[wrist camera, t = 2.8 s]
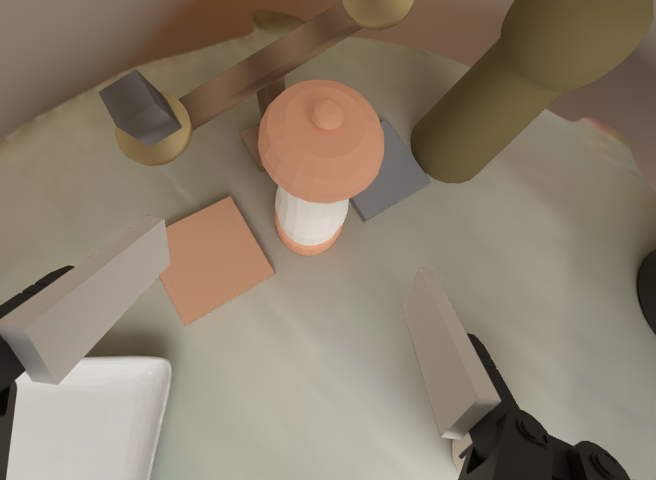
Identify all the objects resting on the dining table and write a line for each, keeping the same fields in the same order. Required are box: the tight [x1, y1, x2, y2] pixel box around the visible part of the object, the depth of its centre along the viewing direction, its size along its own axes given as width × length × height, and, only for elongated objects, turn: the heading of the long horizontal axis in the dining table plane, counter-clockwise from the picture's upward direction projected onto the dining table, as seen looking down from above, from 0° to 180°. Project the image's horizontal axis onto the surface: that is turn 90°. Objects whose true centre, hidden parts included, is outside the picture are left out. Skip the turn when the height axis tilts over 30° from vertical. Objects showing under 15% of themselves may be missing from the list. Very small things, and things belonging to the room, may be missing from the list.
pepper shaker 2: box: [411, 0, 653, 183], centre depth 26 cm, size 10×10×19 cm
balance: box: [99, 0, 414, 172], centre depth 25 cm, size 27×6×15 cm, turn 122°
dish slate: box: [349, 120, 431, 222], centre depth 32 cm, size 10×10×1 cm
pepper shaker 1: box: [258, 79, 384, 256], centre depth 21 cm, size 7×7×19 cm
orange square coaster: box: [159, 196, 275, 325], centre depth 28 cm, size 10×10×1 cm
